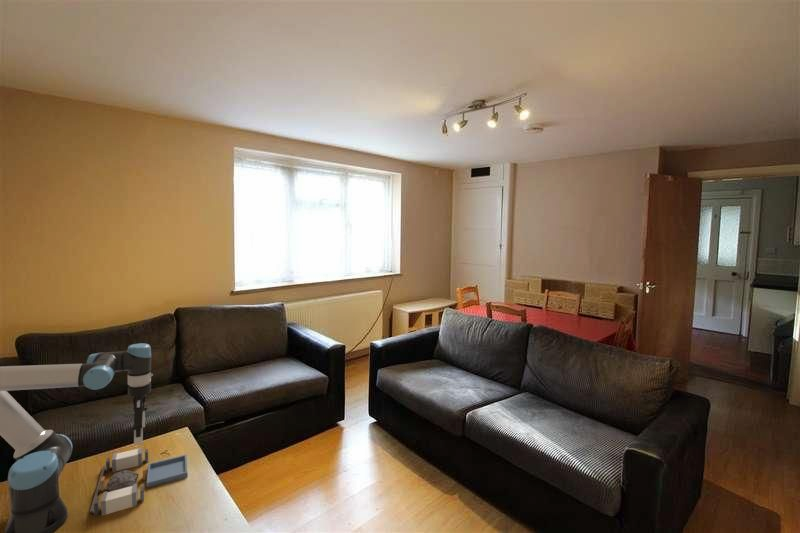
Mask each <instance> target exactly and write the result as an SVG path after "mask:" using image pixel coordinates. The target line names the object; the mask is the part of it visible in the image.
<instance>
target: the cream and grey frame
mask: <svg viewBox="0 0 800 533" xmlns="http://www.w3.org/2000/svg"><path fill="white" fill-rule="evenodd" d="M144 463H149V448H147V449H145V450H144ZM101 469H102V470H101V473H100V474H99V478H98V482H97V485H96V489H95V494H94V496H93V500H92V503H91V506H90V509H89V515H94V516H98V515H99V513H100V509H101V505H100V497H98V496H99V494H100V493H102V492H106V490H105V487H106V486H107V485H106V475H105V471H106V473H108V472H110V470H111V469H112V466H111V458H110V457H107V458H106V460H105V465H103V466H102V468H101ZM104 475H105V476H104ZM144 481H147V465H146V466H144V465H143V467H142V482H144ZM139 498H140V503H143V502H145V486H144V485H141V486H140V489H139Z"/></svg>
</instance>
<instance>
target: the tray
mask: <svg viewBox="0 0 800 533" xmlns="http://www.w3.org/2000/svg"><path fill="white" fill-rule="evenodd" d="M187 455H188V454H183V455H178V456H175V457H171V458H167V459H163V460H158V461H155V462H150V463H148V466H147V473H146V489H149V488H151V487H155V486H159V485H162V484H166V483H170V482H174V481H177V480H181V479H184V478H188V475H189V474H188V461H187V460H188V458H187V457H188V456H187Z"/></svg>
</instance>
